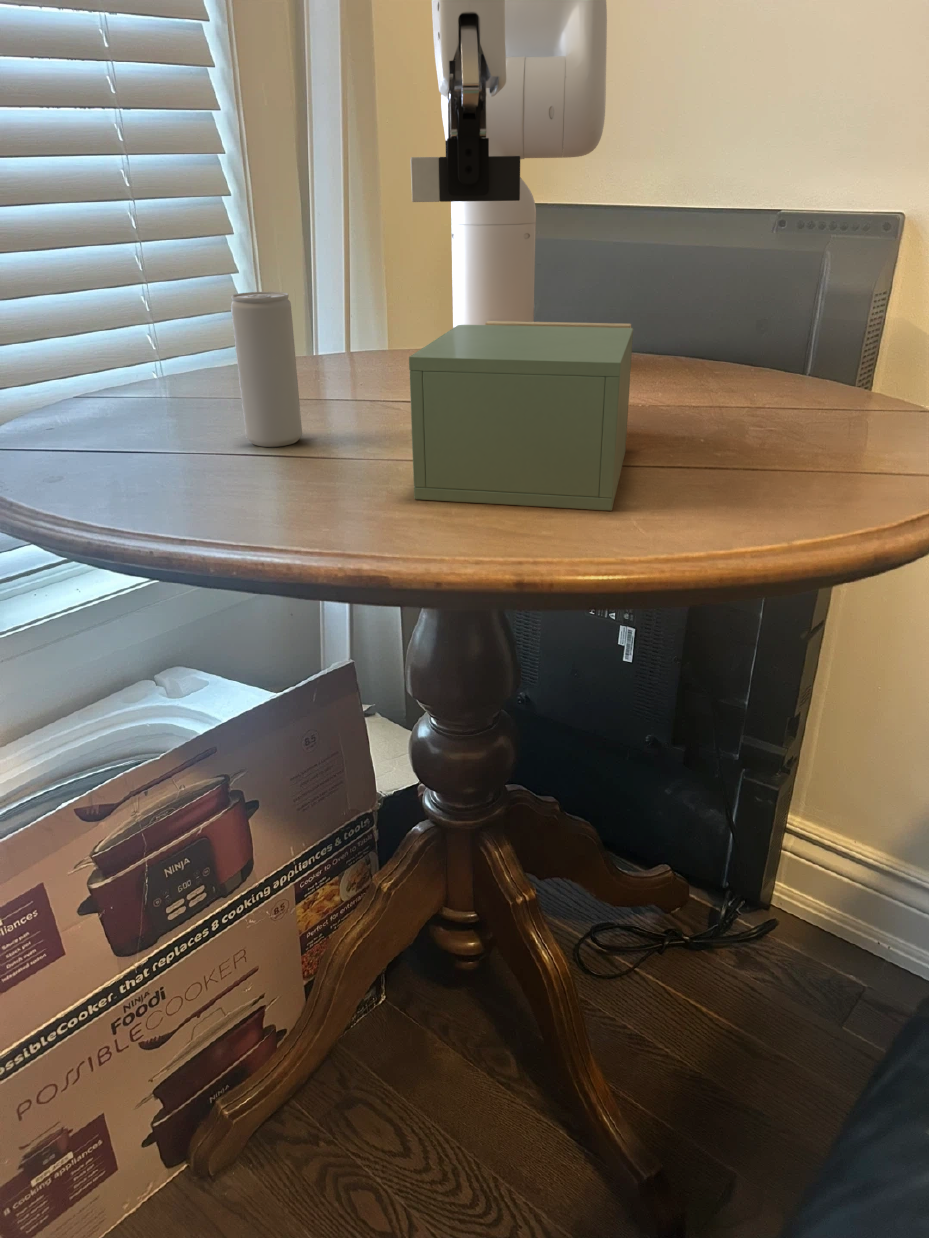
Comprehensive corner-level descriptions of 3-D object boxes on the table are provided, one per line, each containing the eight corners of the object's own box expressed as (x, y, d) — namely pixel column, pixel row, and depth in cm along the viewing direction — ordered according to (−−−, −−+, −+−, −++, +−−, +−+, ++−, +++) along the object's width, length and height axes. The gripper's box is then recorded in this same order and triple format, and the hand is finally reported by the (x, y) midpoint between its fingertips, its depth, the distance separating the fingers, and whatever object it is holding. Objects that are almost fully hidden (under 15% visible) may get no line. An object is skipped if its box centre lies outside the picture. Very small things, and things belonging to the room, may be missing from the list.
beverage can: (290, 449, 77) (276, 298, 72) (237, 447, 78) (219, 298, 73) (310, 435, 82) (298, 291, 77) (259, 432, 83) (244, 291, 77)
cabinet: (459, 445, 78) (458, 324, 74) (625, 452, 75) (633, 328, 71) (413, 499, 65) (408, 356, 61) (611, 511, 62) (620, 362, 58)
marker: (515, 200, 77) (516, 157, 75) (519, 200, 74) (520, 156, 72) (412, 201, 76) (410, 158, 75) (412, 202, 74) (410, 157, 72)
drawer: (497, 399, 90) (497, 314, 86) (628, 403, 87) (634, 316, 84) (455, 448, 74) (453, 346, 70) (614, 455, 71) (621, 350, 68)
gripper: (528, -117, 60) (524, 196, 68) (505, -58, 75) (504, 193, 83) (412, -117, 59) (421, 197, 67) (412, -58, 74) (420, 194, 82)
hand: (467, 192), depth 75 cm, fingers closed on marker, 3 cm apart
